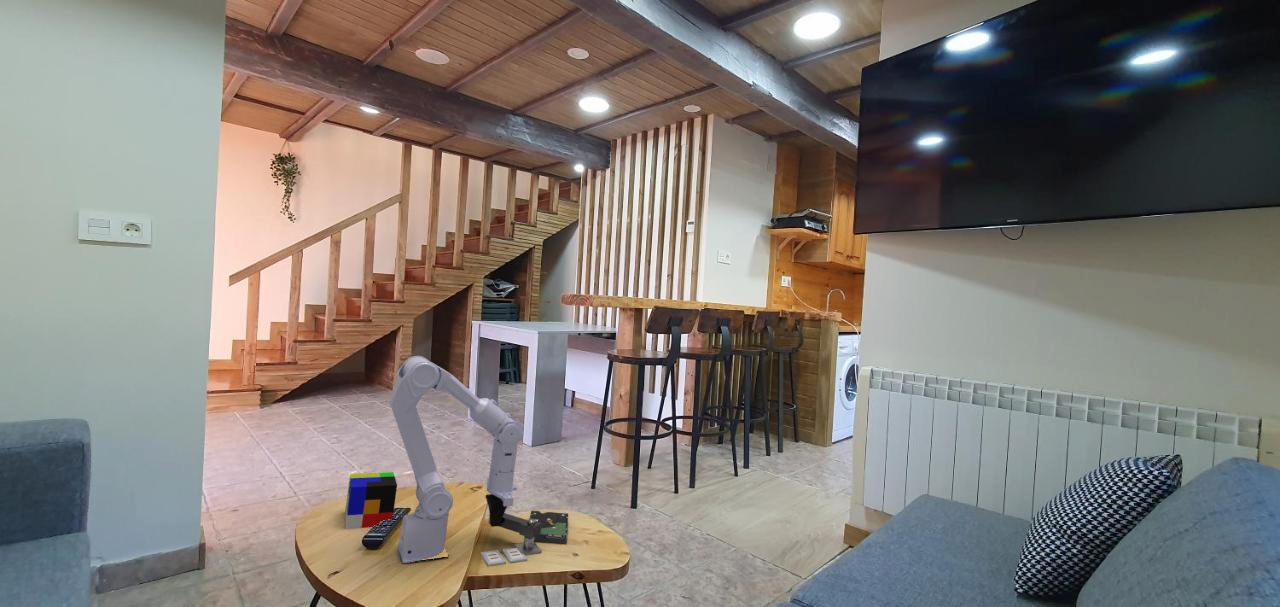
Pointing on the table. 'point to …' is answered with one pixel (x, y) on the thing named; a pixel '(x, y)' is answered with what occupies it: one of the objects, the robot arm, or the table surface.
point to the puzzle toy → (370, 499)
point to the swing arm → (520, 525)
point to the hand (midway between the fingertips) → (495, 525)
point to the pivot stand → (528, 544)
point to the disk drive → (551, 527)
